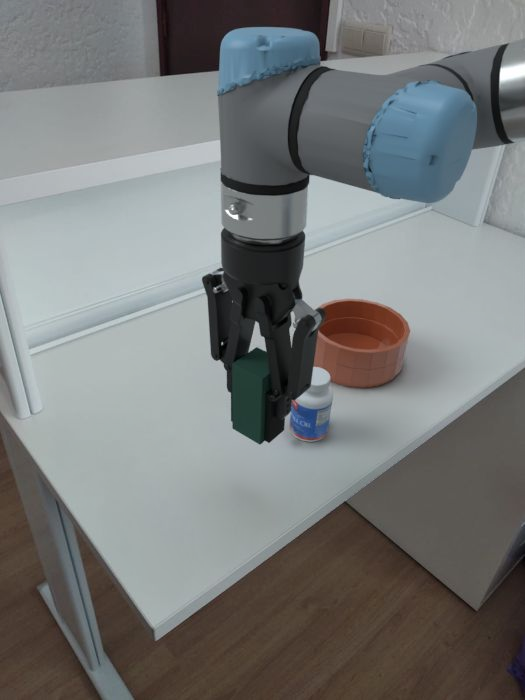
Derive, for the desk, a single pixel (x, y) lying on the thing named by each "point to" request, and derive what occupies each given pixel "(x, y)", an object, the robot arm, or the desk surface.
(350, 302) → the bowl
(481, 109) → the robot arm
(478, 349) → the desk surface
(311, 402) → the pill bottle
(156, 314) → the desk surface
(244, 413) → the green block
